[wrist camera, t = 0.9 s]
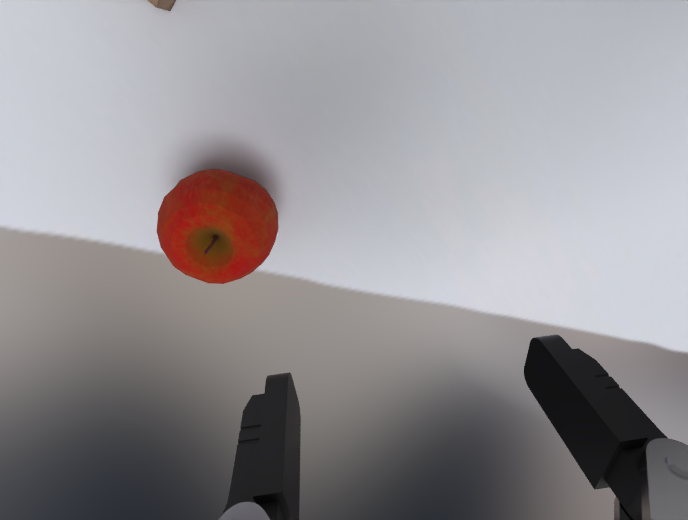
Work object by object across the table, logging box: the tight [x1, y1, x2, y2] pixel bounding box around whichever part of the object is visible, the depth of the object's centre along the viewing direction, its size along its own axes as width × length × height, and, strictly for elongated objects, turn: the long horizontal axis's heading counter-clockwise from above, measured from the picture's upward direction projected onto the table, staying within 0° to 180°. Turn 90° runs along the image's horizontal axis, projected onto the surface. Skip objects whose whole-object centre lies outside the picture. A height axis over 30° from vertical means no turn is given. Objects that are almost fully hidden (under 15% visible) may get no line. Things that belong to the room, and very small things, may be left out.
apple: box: [157, 169, 278, 284], centre depth 28 cm, size 9×8×11 cm
